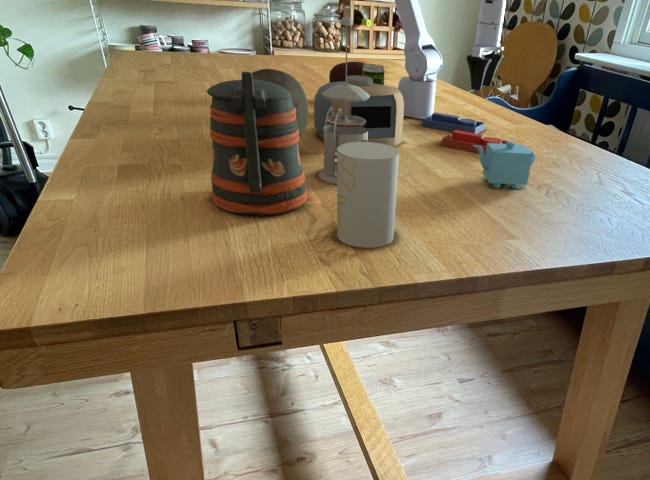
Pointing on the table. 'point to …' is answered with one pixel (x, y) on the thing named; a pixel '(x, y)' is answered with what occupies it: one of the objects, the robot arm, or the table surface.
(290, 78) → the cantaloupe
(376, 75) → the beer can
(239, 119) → the tankard
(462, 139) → the red spoon
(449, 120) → the blue spoon
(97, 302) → the table surface
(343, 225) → the cup
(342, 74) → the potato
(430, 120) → the blue tray
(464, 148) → the red tray
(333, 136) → the french press
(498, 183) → the teapot
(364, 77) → the alarm clock
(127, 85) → the table surface
